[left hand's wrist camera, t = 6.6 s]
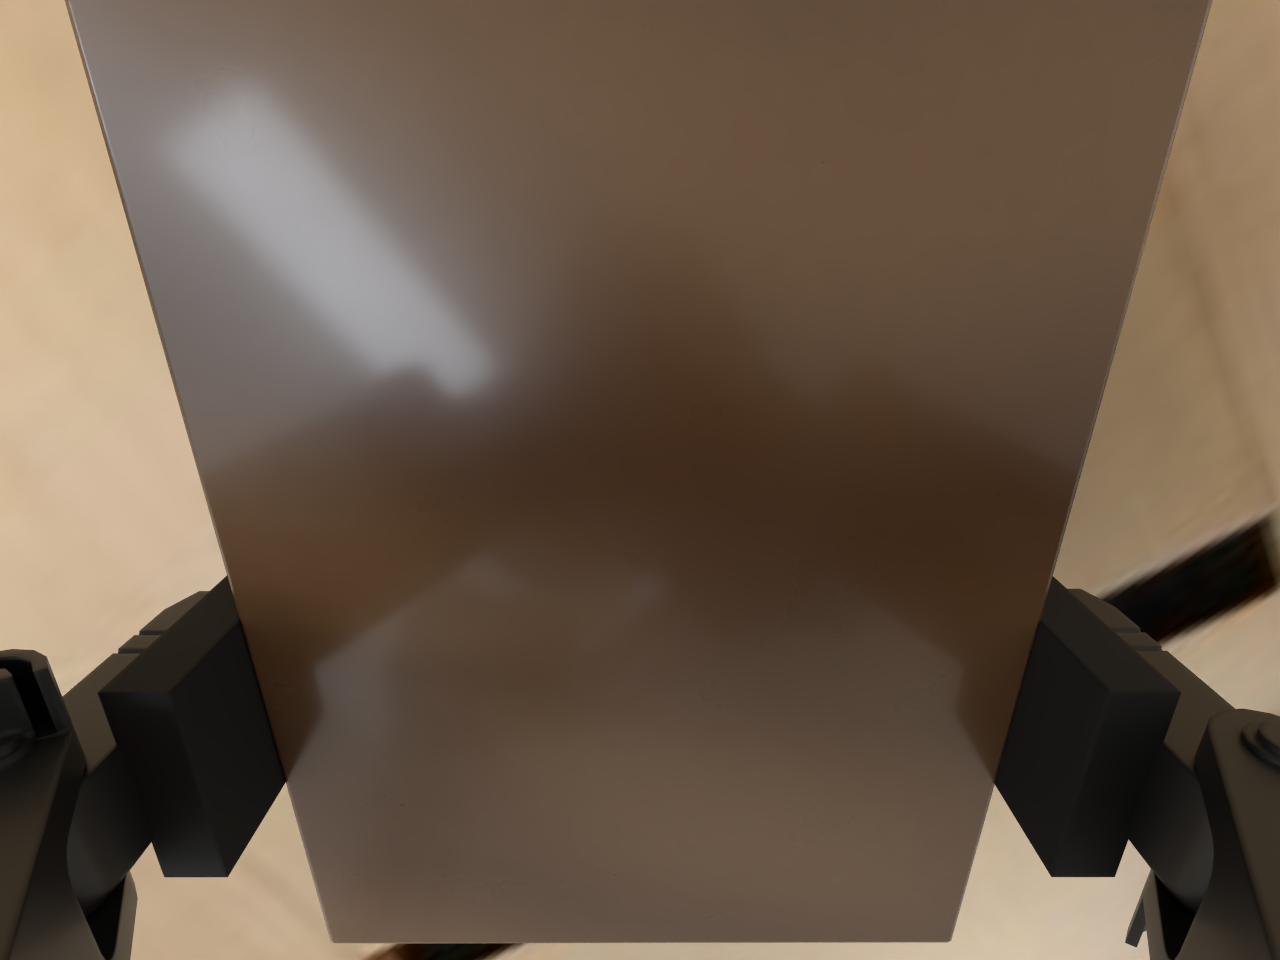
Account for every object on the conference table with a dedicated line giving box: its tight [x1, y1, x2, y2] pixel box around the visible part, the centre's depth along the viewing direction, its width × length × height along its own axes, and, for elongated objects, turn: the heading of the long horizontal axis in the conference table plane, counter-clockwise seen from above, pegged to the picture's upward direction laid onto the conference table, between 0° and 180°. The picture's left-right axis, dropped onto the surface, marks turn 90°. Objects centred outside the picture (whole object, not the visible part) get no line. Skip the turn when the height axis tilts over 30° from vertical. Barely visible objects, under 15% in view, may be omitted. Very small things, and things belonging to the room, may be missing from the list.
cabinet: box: [65, 0, 1212, 943], centre depth 12 cm, size 18×10×9 cm, turn 0°
